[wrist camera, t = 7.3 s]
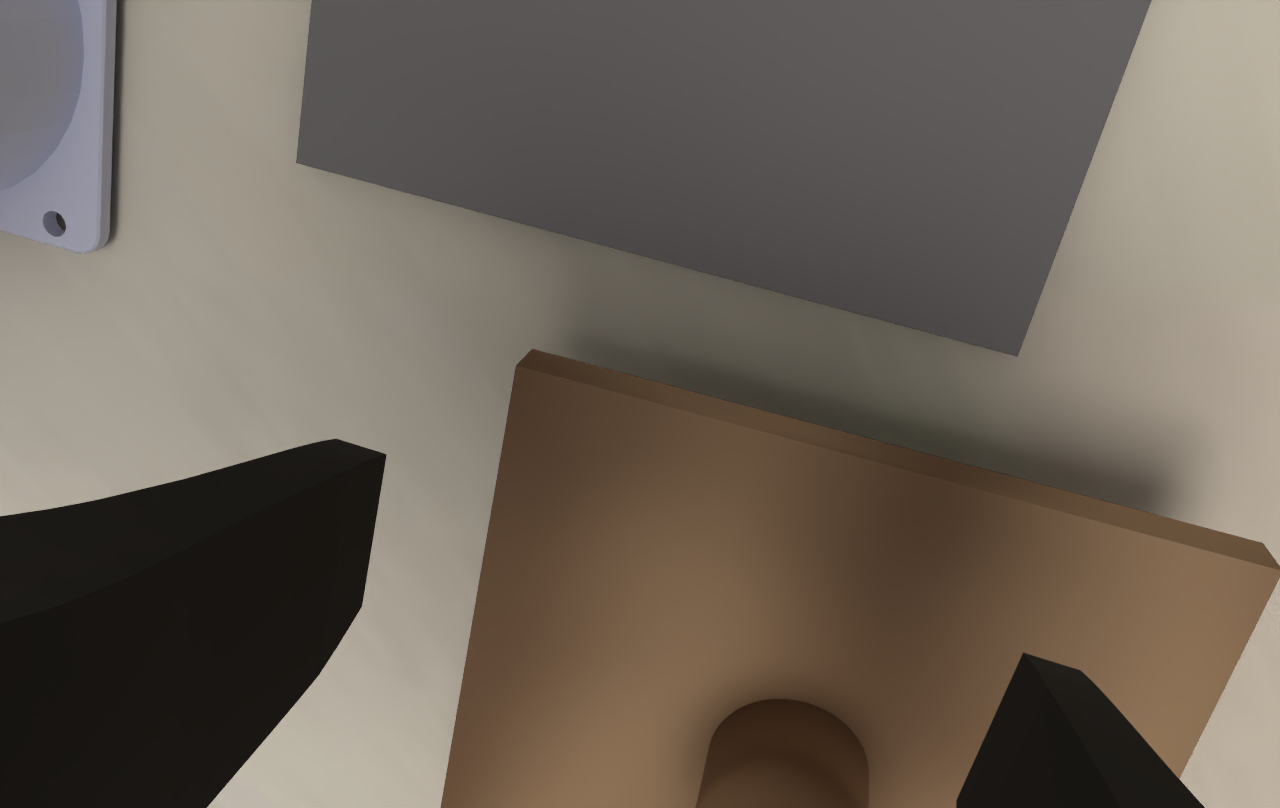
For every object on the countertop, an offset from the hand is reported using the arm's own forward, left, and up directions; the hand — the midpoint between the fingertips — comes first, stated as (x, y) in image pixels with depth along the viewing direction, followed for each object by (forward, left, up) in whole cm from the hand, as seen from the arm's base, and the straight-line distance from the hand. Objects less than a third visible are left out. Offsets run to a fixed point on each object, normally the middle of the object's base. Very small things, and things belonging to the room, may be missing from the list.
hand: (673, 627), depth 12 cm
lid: (+2, -6, -7) cm, 9 cm away
